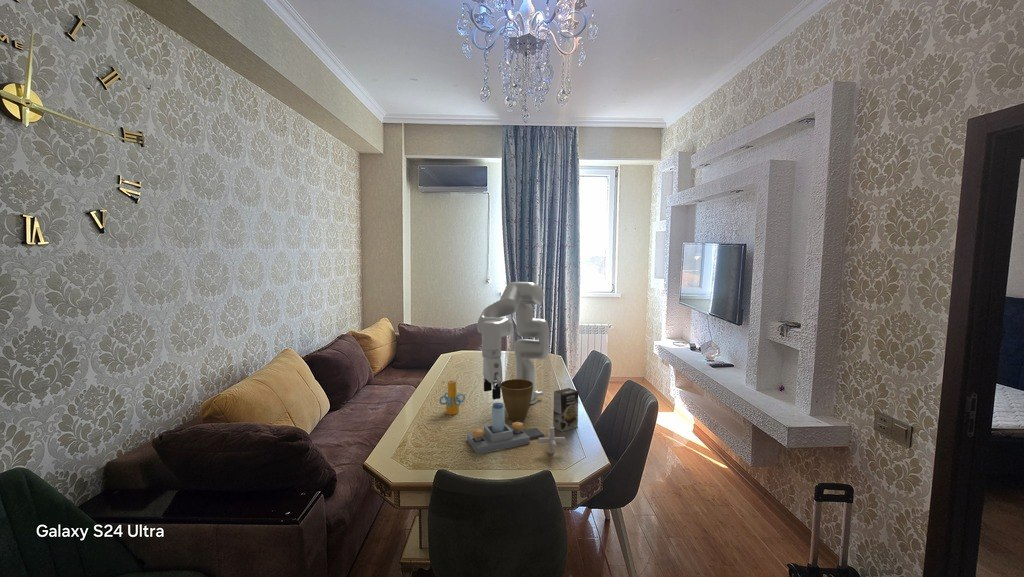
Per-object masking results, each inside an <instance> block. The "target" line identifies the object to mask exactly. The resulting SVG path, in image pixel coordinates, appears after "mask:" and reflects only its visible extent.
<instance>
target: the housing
mask: <svg viewBox="0 0 1024 577" xmlns="http://www.w3.org/2000/svg"><path fill="white" fill-rule="evenodd" d="M483 430H484V436H483V437H482V441H481V442H476V443H475V437H473V432H471V433H467V434H466V441H467V442H468V443H469V445H470V446H471V447H472V449H473V450H474V451H475V453H476V454H477V455H480V454H485V453H489V452H495V451H499V450H504V449H509V448H514V447H518V446H523V445H527V444H530V443H531V439H530V437H529V436H528V435H527V434H526V433H525V432H524V431H522V430H523V429H521V434H516V435H515V434H514V429H512V425H508V424H506V423H505V422H504V432H499V433H492V424H489V425H483Z"/></svg>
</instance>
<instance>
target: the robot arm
mask: <svg viewBox="0 0 1024 577" xmlns="http://www.w3.org/2000/svg"><path fill="white" fill-rule="evenodd" d="M544 296H545V295H544V290H543V288H542V287H541V286H539V285H538V284H536V283H534V282H531V281H530V282H529V281H511V282H509V283H507V284H506V286H505V289H504V290H503V292H502V295H501V296H500V299H499V300H497V301H495V302H493V303H492V304H490V305H489V304H488V306H487V307H485V308H484V309H483V310H482V312H481V313H480V316H479V317H478V321H477V325H476V329H477V331H478V333H479V334H480V335H481V357H482V358H483V360H482V362H483V363H482V367H483V368H482V375H483V391H484V392H490V391H491V392H492V396H491V397H492V400H500V399H501V396H502V391H501V383H502V382H503V365H502V338H504V337H507V336H509V335H510V334H511V333H512V331H513V328H514V327H513V322H512V320H511V319H509V318H508V317H507V316H510V315H513V314H515V318H516V319H515V321H516V322H515V323H516V325H515V326H516V327H515V328H516V334H517V336H519V337H522V338H520V339H517V340H516V341H515V342H514V344H513V351H514V357H515V379H524V380H529V381H531V382H532V383H533V391H532V397H531V401H530V405H533V404H536V403H537V402H538V397H539V396H540V397H541V396H544V392H543V391H542V390H541V391H539V390H535V388H536V386H535V385H536V384H535V383H536V367H535V363H534V362H533V361H532V360H547V358H548V357H549V355H550V329H549V323H548V321H547V320H546V319H544V318H535V317H534V308H533V306H532V305H541V304H542V303H543V301H544ZM529 338H530V339H529Z"/></svg>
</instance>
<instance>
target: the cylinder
mask: <svg viewBox="0 0 1024 577" xmlns="http://www.w3.org/2000/svg"><path fill="white" fill-rule="evenodd" d="M460 396H462V400H461V398H460ZM443 398H444V400H445V402H443V401H442V399H443ZM465 399H466V395H465V394H464V393H458V392H457V380H455V379H452V380H451V379H450V380H447V392H445V393H444V395H442V396H441V397H440V398H439V403H440V405H443V406H444V405H445V413H446V415H451V416H452V415H457V414H459V412H460V408H459V407H460V405H461V403H464V401H465Z"/></svg>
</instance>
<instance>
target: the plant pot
mask: <svg viewBox="0 0 1024 577" xmlns="http://www.w3.org/2000/svg"><path fill="white" fill-rule="evenodd" d="M532 391H533V383H532V382H531V381H529V380H524V379H516V378H514V379H513V378H512V379H506V380H504V381H503V380H502V382H501V396H502V399H503V405H504V409H505V410H506V413H507V416H508V418H509V420H512V421H514V422H520V421H523V420H525V419H526V417H527V415H528V412H529V408H530V405H531V404H530V401H531V397H532Z"/></svg>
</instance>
